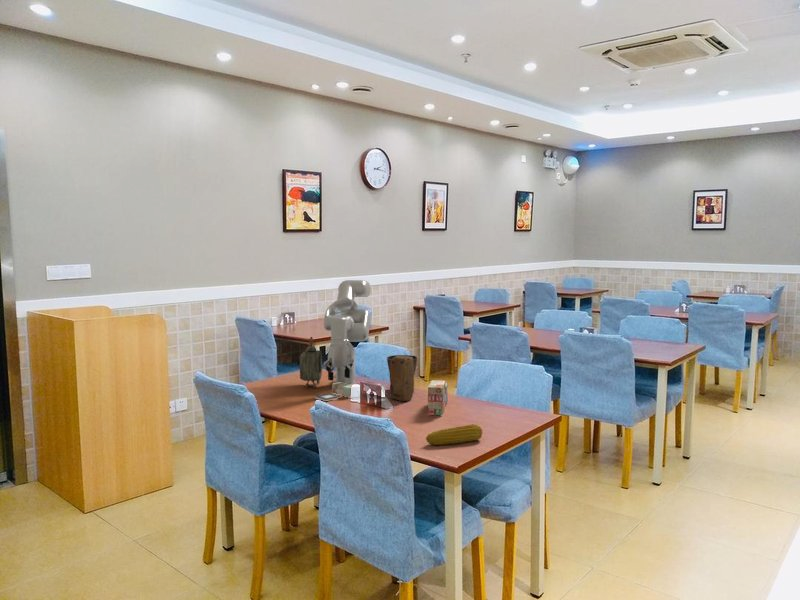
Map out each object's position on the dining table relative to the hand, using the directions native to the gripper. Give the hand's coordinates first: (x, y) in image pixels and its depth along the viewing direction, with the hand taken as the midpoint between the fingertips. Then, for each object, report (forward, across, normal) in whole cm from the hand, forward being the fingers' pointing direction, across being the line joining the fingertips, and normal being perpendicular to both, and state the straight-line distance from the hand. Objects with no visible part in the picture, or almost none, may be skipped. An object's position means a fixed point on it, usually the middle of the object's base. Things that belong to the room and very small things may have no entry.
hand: (339, 378), depth 277 cm
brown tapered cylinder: (+8, -15, +27) cm, 32 cm away
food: (+11, +13, +84) cm, 86 cm away
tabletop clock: (+7, 0, -23) cm, 24 cm away
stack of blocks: (+9, -15, +50) cm, 53 cm away
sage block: (+8, -1, +7) cm, 11 cm away
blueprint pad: (+8, +9, +3) cm, 12 cm away
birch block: (+7, -1, -1) cm, 8 cm away
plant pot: (+7, -28, +14) cm, 32 cm away
